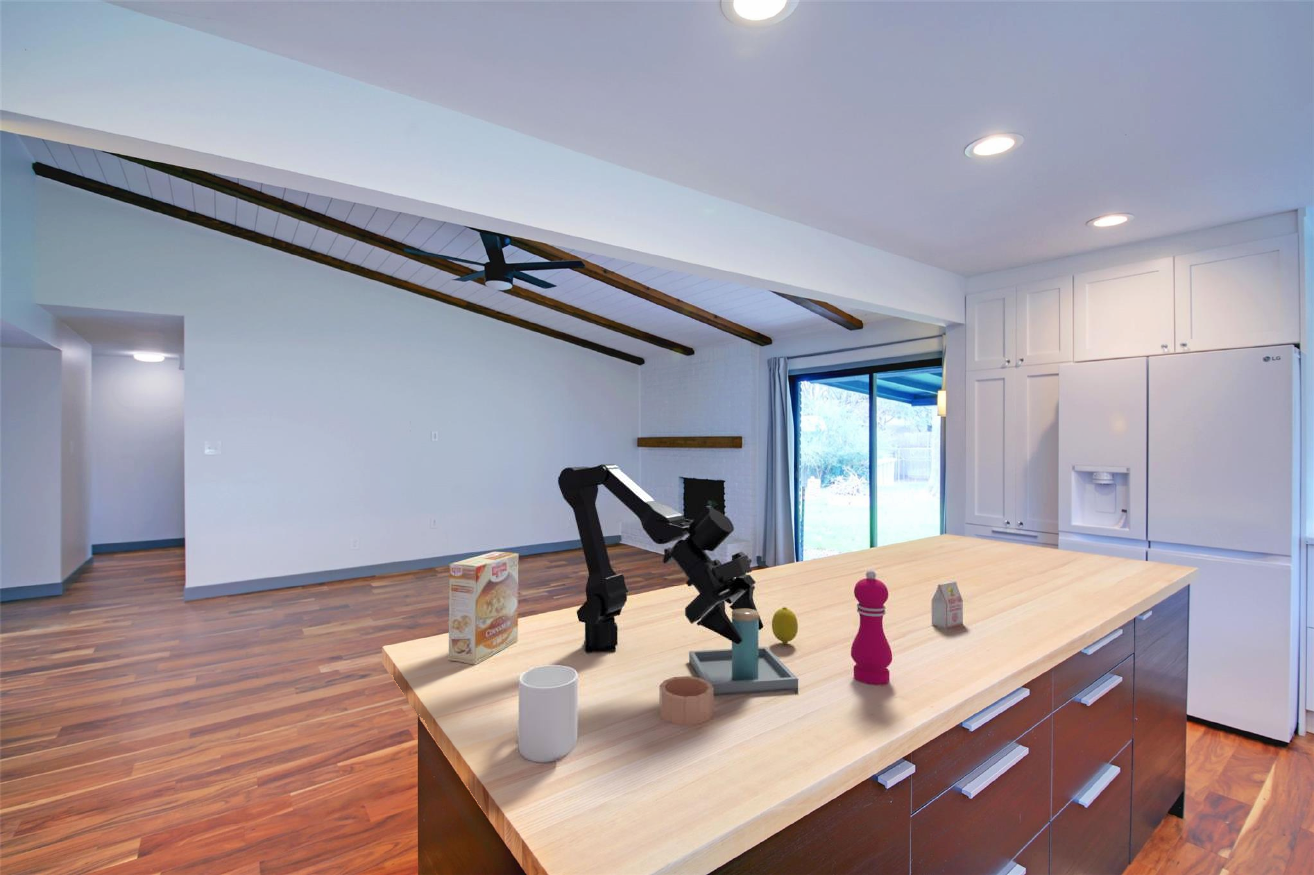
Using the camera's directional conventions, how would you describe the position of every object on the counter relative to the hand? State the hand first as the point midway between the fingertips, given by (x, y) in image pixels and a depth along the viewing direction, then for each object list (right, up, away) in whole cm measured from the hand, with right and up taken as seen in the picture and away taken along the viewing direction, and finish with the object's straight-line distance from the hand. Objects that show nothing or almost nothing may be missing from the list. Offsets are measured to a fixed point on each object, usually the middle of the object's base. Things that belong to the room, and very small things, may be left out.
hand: (751, 635), depth 103 cm
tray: (-1, -9, +4) cm, 10 cm away
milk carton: (+53, -10, +35) cm, 65 cm away
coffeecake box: (-53, -9, +18) cm, 57 cm away
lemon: (+11, -10, +22) cm, 26 cm away
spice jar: (-1, -8, +1) cm, 8 cm away
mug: (-34, -9, -20) cm, 40 cm away
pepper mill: (+23, -9, +3) cm, 25 cm away
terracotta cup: (-12, -9, -11) cm, 19 cm away
